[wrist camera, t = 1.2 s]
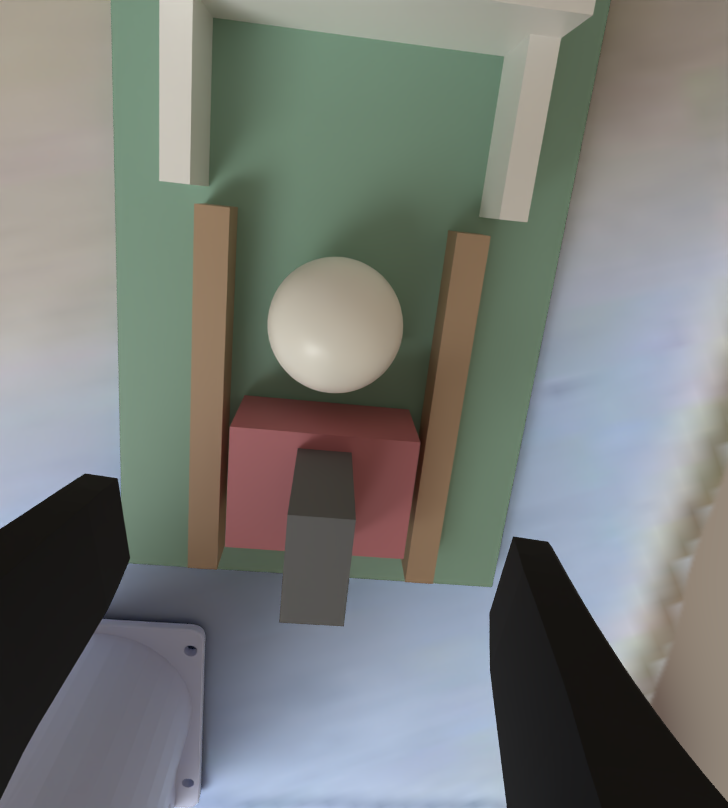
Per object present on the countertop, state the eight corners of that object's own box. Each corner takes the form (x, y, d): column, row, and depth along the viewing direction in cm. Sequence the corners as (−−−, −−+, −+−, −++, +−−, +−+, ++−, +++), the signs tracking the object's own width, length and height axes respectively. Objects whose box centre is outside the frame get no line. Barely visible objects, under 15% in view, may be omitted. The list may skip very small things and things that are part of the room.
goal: (503, 219, 19) (551, 225, 15) (182, 183, 18) (135, 178, 14) (537, 21, 17) (603, -38, 13) (184, -28, 17) (132, -107, 12)
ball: (388, 377, 21) (400, 417, 17) (271, 367, 20) (255, 405, 16) (403, 258, 19) (420, 271, 16) (278, 244, 19) (263, 255, 15)
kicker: (394, 513, 22) (419, 647, 15) (239, 501, 22) (197, 634, 15) (409, 409, 21) (443, 507, 14) (244, 395, 20) (200, 488, 14)
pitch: (487, 575, 24) (501, 611, 22) (129, 550, 23) (108, 587, 21) (601, -1, 18) (637, -29, 16) (119, -70, 17) (86, -110, 15)
